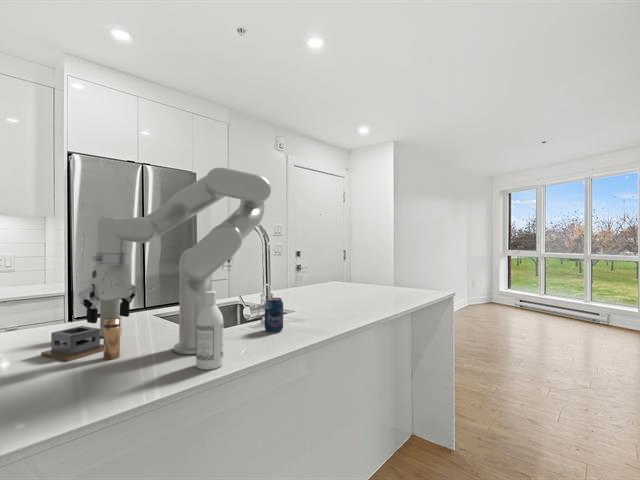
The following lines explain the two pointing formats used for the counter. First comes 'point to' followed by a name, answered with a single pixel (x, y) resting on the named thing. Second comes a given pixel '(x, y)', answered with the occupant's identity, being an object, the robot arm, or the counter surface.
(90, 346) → the collar stand
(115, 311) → the spray can
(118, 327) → the copper tube
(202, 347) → the bath foam
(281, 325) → the soda can
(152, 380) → the counter surface
